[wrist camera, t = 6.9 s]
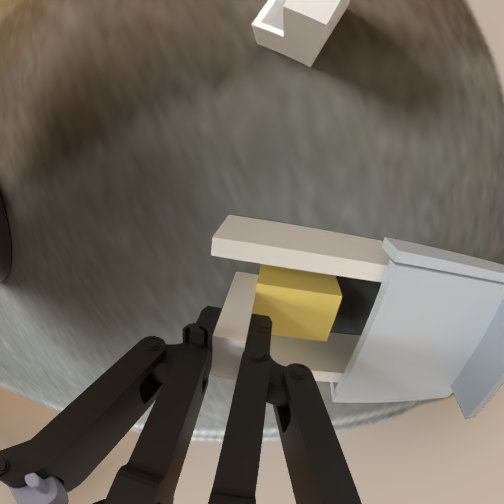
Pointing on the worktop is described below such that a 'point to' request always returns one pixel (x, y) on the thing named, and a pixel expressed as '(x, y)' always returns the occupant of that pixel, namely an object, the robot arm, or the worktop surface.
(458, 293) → the cover
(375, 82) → the worktop surface
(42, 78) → the worktop surface
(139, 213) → the worktop surface
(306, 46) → the white angled block
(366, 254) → the long white channel rail
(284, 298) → the mustard yellow cuboid
